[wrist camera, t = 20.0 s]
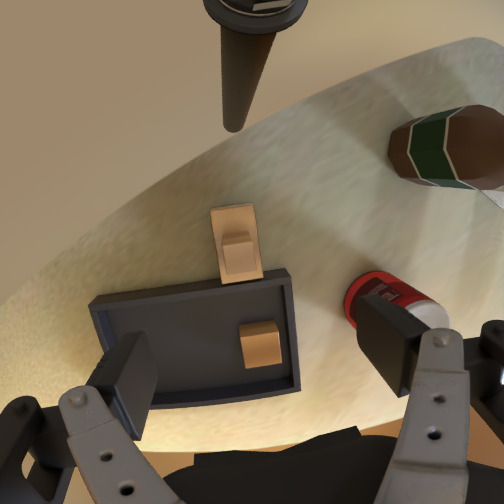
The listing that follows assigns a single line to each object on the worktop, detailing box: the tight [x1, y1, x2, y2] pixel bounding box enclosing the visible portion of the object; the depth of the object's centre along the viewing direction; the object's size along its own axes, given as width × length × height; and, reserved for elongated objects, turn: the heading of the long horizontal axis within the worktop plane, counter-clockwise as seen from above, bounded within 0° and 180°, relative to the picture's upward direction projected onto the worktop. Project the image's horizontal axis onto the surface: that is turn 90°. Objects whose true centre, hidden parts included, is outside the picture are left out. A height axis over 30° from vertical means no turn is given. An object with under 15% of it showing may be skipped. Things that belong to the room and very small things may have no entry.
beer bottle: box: [389, 105, 504, 190], centre depth 20 cm, size 8×8×24 cm
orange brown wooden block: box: [239, 320, 282, 369], centre depth 33 cm, size 4×4×3 cm
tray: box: [88, 268, 301, 410], centre depth 33 cm, size 15×22×3 cm
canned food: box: [344, 272, 450, 331], centre depth 30 cm, size 8×8×11 cm
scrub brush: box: [210, 202, 263, 284], centre depth 28 cm, size 7×4×9 cm, turn 8°
